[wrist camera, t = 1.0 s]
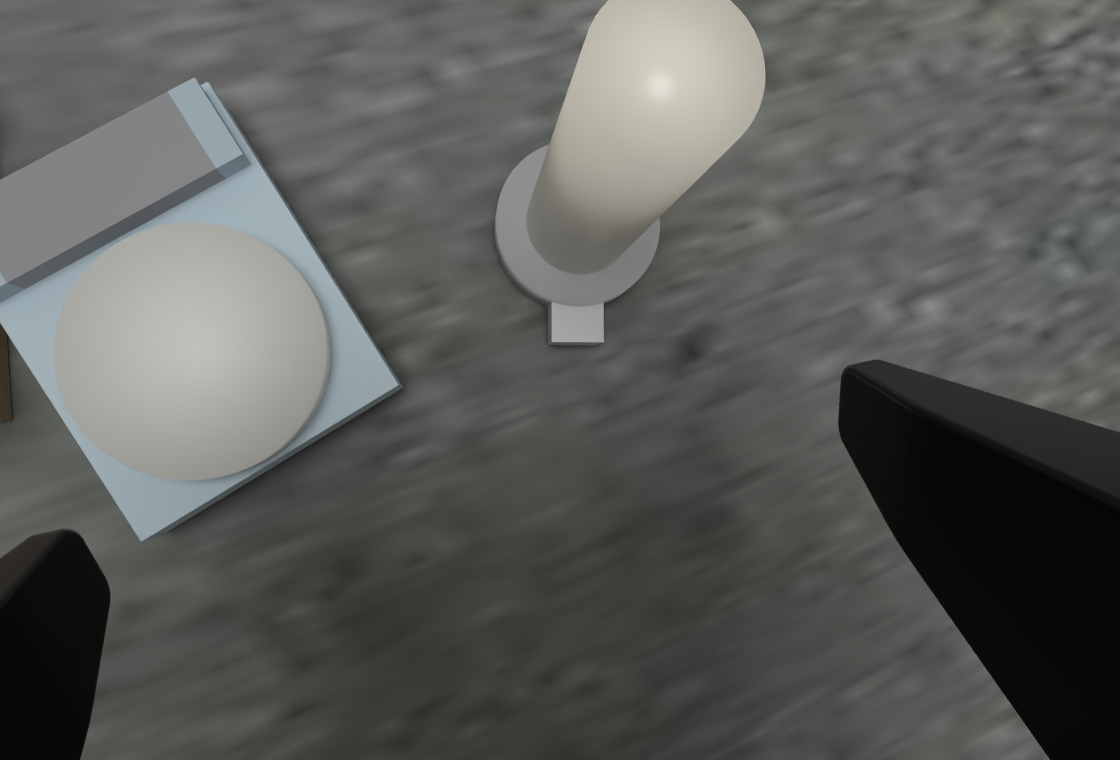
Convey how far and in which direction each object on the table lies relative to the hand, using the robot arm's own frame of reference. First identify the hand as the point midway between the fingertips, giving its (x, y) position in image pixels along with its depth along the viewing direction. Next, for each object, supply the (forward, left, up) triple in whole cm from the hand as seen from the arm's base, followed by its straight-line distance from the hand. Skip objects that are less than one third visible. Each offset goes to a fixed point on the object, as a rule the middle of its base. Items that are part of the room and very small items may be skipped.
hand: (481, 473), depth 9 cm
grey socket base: (+8, +3, -15) cm, 18 cm away
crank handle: (+2, -7, -15) cm, 17 cm away
